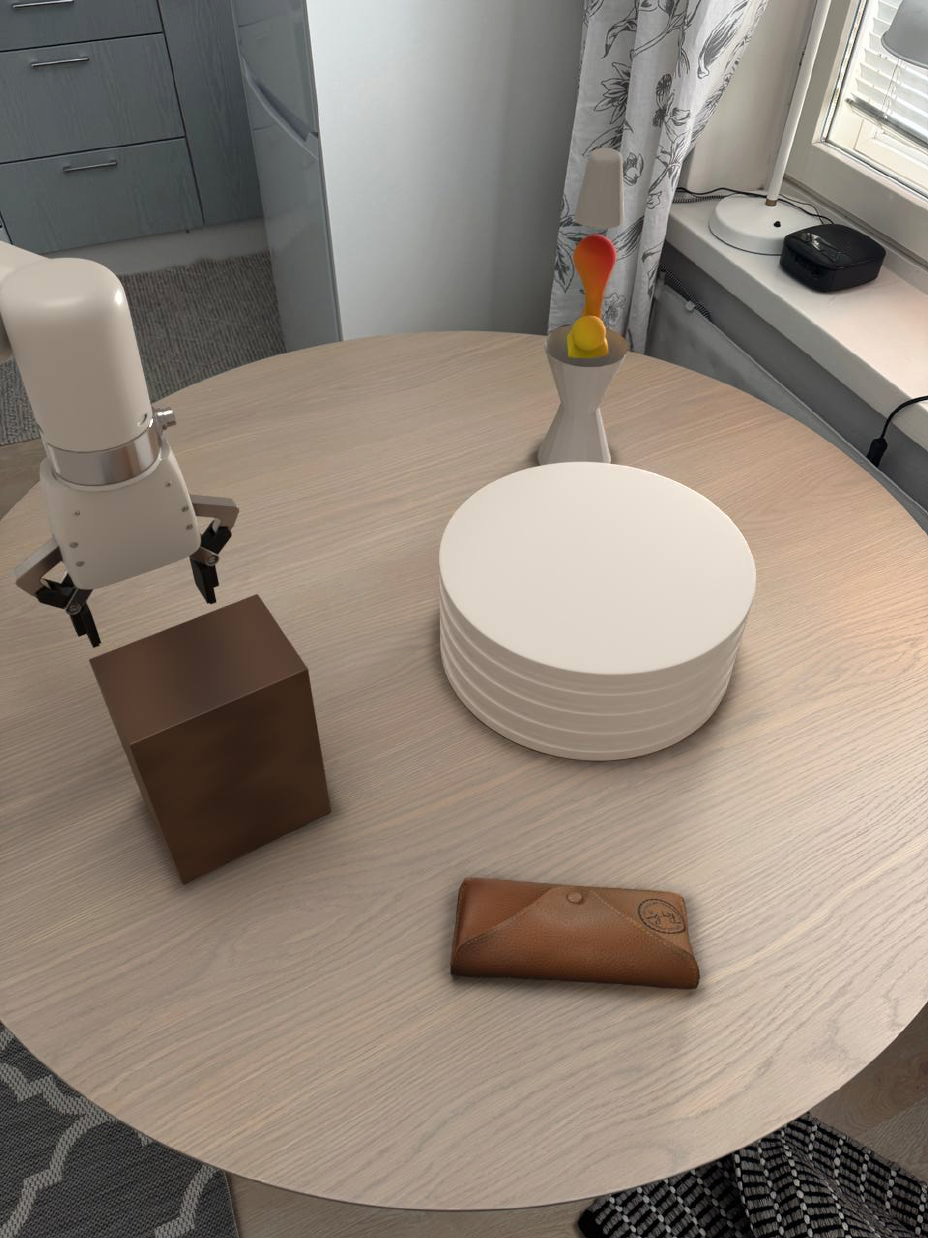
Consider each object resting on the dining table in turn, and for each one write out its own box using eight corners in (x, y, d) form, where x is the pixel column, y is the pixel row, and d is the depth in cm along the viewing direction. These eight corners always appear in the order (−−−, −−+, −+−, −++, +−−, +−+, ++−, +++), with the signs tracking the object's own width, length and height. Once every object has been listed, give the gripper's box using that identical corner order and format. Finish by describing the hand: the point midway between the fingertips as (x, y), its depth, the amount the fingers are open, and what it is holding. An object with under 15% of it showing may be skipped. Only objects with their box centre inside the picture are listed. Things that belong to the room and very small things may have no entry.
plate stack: (764, 754, 88) (796, 667, 79) (446, 767, 86) (445, 680, 78) (695, 544, 107) (715, 457, 99) (435, 552, 106) (433, 465, 98)
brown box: (182, 885, 78) (129, 745, 66) (141, 796, 84) (84, 652, 71) (331, 812, 83) (308, 668, 70) (282, 732, 89) (253, 586, 76)
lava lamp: (535, 434, 121) (556, 133, 96) (610, 436, 121) (650, 135, 96) (536, 480, 115) (559, 170, 90) (615, 482, 115) (659, 172, 90)
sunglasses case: (685, 887, 78) (703, 889, 71) (686, 982, 76) (704, 993, 70) (455, 876, 78) (452, 877, 72) (451, 970, 77) (447, 980, 70)
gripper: (200, 383, 75) (231, 552, 87) (-40, 450, 68) (30, 623, 81) (240, 434, 71) (266, 605, 83) (-13, 511, 64) (57, 684, 76)
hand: (150, 614), depth 82 cm, fingers open, 9 cm apart
